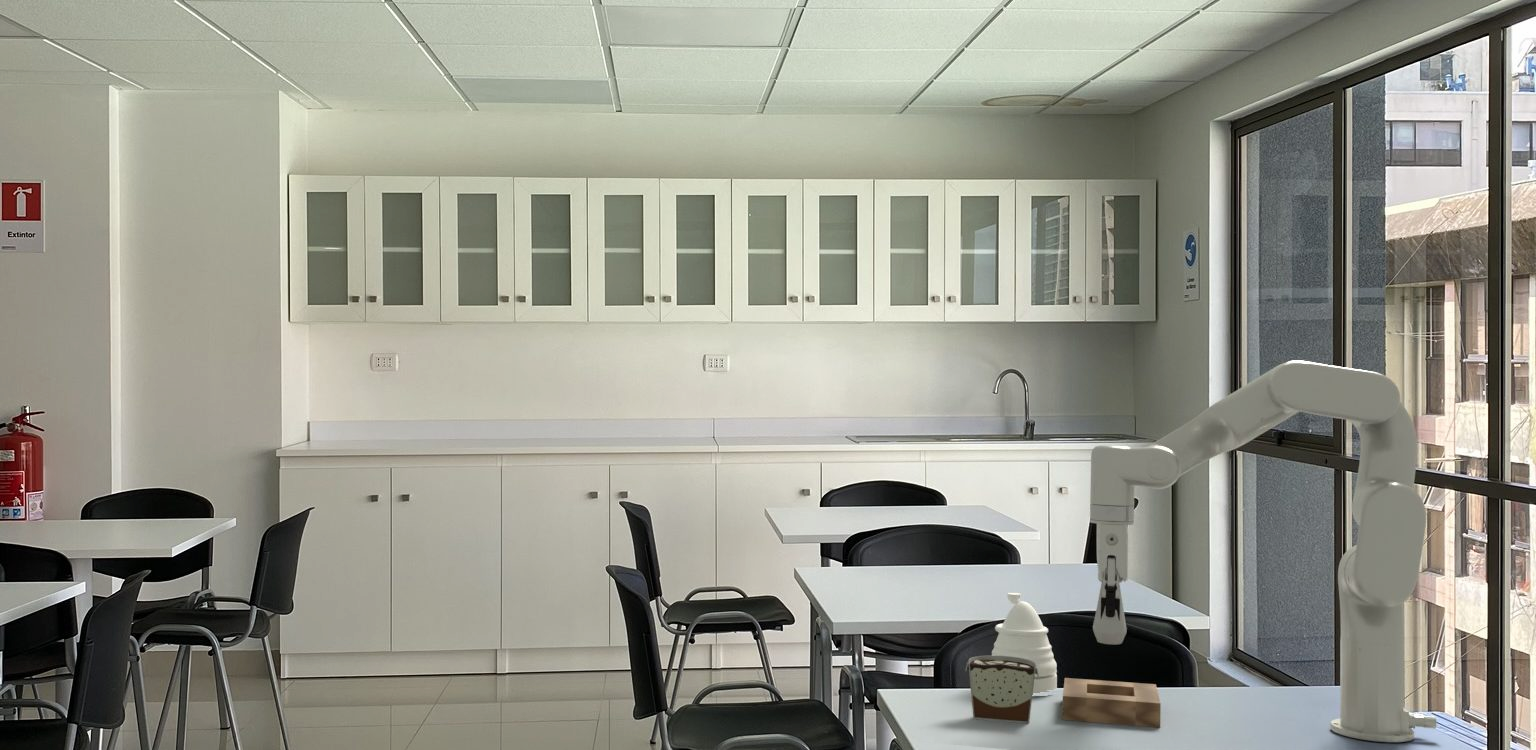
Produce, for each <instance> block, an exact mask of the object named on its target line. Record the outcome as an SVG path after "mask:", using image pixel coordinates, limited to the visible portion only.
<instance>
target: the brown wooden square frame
mask: <svg viewBox="0 0 1536 750" xmlns="http://www.w3.org/2000/svg"><path fill="white" fill-rule="evenodd" d="M1063 681H1064V683H1063V692H1062V720H1065V721H1076V722H1077V721H1079V722H1087V723H1089V722H1090V723H1099V724H1100V723H1101V724H1112V725H1114V724H1116V725H1125V726H1138V727H1139V726H1141V727H1149V728H1151V727H1152V728H1161V710H1162V709H1161V707H1162V705H1161V700H1160V697H1159V693H1158V687H1157V684H1156V683H1155V684H1154V683H1142V682H1141V683H1140V682H1128V681H1127V682H1126V681H1114V680H1113V681H1112V680H1101V679H1084V678H1073V677H1072V678H1071V677H1070V678H1069V677H1064V680H1063Z"/></svg>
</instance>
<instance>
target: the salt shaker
mask: <svg viewBox="0 0 1536 750" xmlns="http://www.w3.org/2000/svg"><path fill="white" fill-rule="evenodd" d="M1105 570H1106V569H1105ZM1097 579H1098V581H1099V582H1100V590H1099V595H1098V600H1097V605H1096V610H1095V615H1094V620H1093V623H1092V624H1093V625H1092V631H1093V633H1094V636H1095V638H1096V641H1097V643H1100V644H1103V645H1121V644H1123V642H1124V639H1125V637H1126V635H1127V630H1128V627H1127V622H1126V616H1125V615H1126V614H1125V610H1124V603H1123V597H1122V593H1121V591H1122V590H1121V585H1120V583H1122V582H1124V580H1123V579H1122V578H1120V576H1119V599H1120V620H1119V619H1118V614H1117V610H1115V616H1114V617H1107V616H1106V606H1105V608H1104V613H1103V615H1102V618H1101V597H1102V598H1103V582H1102V581H1103V579H1102V580H1101V579H1100V578H1099V574H1098V573H1097ZM1105 580H1108V576H1105ZM1115 580H1117V577H1115ZM1106 584H1107V583H1106ZM1115 598H1116V596H1115Z"/></svg>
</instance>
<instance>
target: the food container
mask: <svg viewBox="0 0 1536 750" xmlns="http://www.w3.org/2000/svg"><path fill="white" fill-rule="evenodd" d="M967 671H968V673H969V685H970V695H971V697H970V698H971V706H972V707H971V709H972V718H973V720H985V721H995V722H996V721H997V722H1008V723H1021V724H1030V719H1031V709H1032V703H1033V702H1032V701H1033V697H1032V695H1033V687H1034V678H1035V674H1037V675H1038V670H1037V667H1036V663H1035V662H1033V661H1031V660H1028V659H1024V658H1018V657H1011V656H992V655H978V656H977V655H976V656H973V657H972V656H971V657H970V658H969V659H968V661H967V662H966V666H965V672H967ZM1038 677H1039V675H1038Z"/></svg>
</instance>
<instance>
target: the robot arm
mask: <svg viewBox="0 0 1536 750" xmlns="http://www.w3.org/2000/svg"><path fill="white" fill-rule="evenodd" d="M1299 412H1302V413H1307V414H1310V415H1311V414H1312V415H1317V416H1321V417H1328V418H1334V419H1341V420H1346V421H1348V422H1350V423H1351V424H1352V425H1353V426H1354V427H1355V429H1356V430H1357V432H1358V435H1359V440H1360V453H1359V465H1358V470H1357V477H1356V482H1355V488H1354V494H1353V497H1352V504H1351V513H1352V517H1353V519H1354V521H1355V523H1356V524H1357V526H1358V532H1357V540H1356V545H1354V546H1352V547H1350V548H1348V549H1347V550H1346V551H1345V552H1344V554H1343V555H1342V557H1341V558H1340V561H1339V564H1338V569H1337V584H1338V585H1337V586H1338V594H1339V595H1338V596H1339V597H1338V598H1339V611H1340V612H1339V613H1340V615H1339V616H1340V637H1339V639H1340V641H1339V642H1340V645H1339V646H1340V648H1339V649H1340V651H1339V652H1340V653H1339V655H1340V663H1339V664H1340V667H1339V668H1340V669H1339V671H1340V672H1339V673H1340V677H1339V678H1340V682H1339V683H1340V684H1339V686H1340V687H1339V688H1340V689H1339V695H1340V699H1339V700H1340V702H1339V704H1340V706H1339V707H1340V711H1339V712H1340V713H1339V714H1340V715H1339V717H1340V718H1339V717H1338V718H1335V719H1332V720H1330V723H1329V727H1330V728H1329V729H1330V730H1332V732H1334V733H1336V734H1339V735H1341V736H1345V737H1347V738H1352V739H1357V740H1362V741H1370V742H1377V743H1403V742H1404V743H1407V742H1410V741H1412V740H1414V739H1415V731H1414V729H1415V728H1416V727H1418V728H1424V729H1434V730H1435V729H1436V728H1437V718H1436V716H1434V715H1433V716H1430V715H1424V714H1422V713H1414V712H1412V713H1411V712H1410V711H1409V710H1407V708H1406V707H1404V706H1405V702H1404V701H1405V700H1404V699H1405V690H1404V689H1405V688H1404V686H1405V679H1404V678H1405V676H1404V675H1405V674H1404V673H1405V671H1404V670H1405V669H1404V668H1405V667H1404V666H1405V663H1404V662H1405V658H1404V657H1405V655H1404V654H1405V651H1404V650H1405V647H1404V646H1405V643H1404V642H1405V622H1404V621H1405V620H1404V609H1403V603H1404V602H1405V601H1407V600H1408V599H1410V597H1411V596H1412V594H1413V593H1414V591H1415V589H1416V586H1417V582H1418V578H1419V572H1420V565H1421V561H1422V560H1421V559H1422V554H1423V553H1422V552H1423V546H1424V539H1425V533H1426V524H1427V512H1426V505H1425V504H1424V503H1425V502H1424V501H1423V498H1422V497H1421V496H1420V494H1419V493H1418V492H1417V491H1416V490H1415V488H1414V486H1415V480H1416V479H1415V478H1416V466H1417V459H1418V457H1417V456H1418V436H1417V431H1416V427H1415V424H1414V422H1413V419H1412V418H1411V417H1412V416H1411V415H1410V413H1409V412H1408V410H1407V409H1406V407H1405V405H1404V404H1403V403H1402V402H1401V394H1400V389H1399V388H1398V386H1397V384H1396V382H1395V381H1393V379H1391V378H1390V377H1388V376H1386V375H1385V374H1382V373H1381V372H1377V371H1369V370H1363V369H1356V368H1349V367H1342V366H1337V365H1328V364H1324V363H1318V362H1312V361H1305V360H1299V359H1298V360H1296V359H1295V360H1289V361H1286V362H1284V363H1281V364H1278V365H1277V366H1275V367H1273V368H1272V369H1270V370H1268V371H1267V372H1266V371H1265V373H1263V374H1261V375H1260V376H1259V377H1256V378H1255V379H1253V380H1251V381H1250V382H1249V383H1246V384H1245V385H1244V386H1242V387H1240V388H1238V389H1237V390H1235V391H1234V392H1232V393H1230V394H1228V395H1227V396H1225V397H1223V398H1222V399H1220V400H1219V401H1217V402H1215V403H1213V404H1212V405H1210V406H1209V407H1207V408H1206V409H1204V411H1202V412H1201V413H1199V415H1197V416H1195V417H1194V418H1193V419H1191V420H1190V421H1188V422H1186V423H1184V424H1183V425H1182V426H1180V427H1178V428H1176V429H1174V430H1173V431H1172V432H1170V433H1168V434H1166V435H1165V436H1163V437H1162V438H1160V439H1158V440H1156V441H1155V442H1153V443H1152V444H1149V445H1148V446H1145V447H1130V446H1127V445H1110V444H1109V445H1106V444H1105V445H1102V444H1101V445H1097V446H1095V447H1094V448H1093V449H1092V451H1091V452H1090V453H1091V454H1090V490H1089V491H1090V495H1089V497H1090V500H1089V501H1090V502H1089V504H1090V505H1089V523H1092V524H1096V561H1097V562H1096V563H1097V565H1096V566H1097V572H1098V573H1097V575H1098V574H1099V578H1100V579H1101V580H1102V579H1103V581H1102V582H1103V598H1102V597H1101V618H1102V615H1103V613H1104V608H1105V606H1106V616H1107V617H1114V616H1115V610H1117V614H1118V619H1119V620H1120V599H1119V584H1120V583H1119V576H1120V578H1122V579H1123V582H1125V583H1126V582H1127V581H1128V578H1129V574H1128V573H1129V571H1128V570H1129V569H1128V568H1129V564H1128V563H1129V532H1128V530H1129V529H1128V526H1131V525H1134V524H1135V522H1134V521H1135V487H1136V486H1137V487H1144V488H1148V489H1154V490H1163V489H1167V488H1170V487H1172V486H1173V485H1174V484H1175V483H1177V481H1178V480H1179V478H1180V477H1181V476H1183V475H1184V474H1185V475H1186V473H1188V472H1189V471H1191V470H1193V469H1194V468H1196V467H1198V466H1200V465H1202V464H1203V463H1205V462H1207V461H1209V460H1210V459H1213V458H1215V457H1217V456H1220V455H1221V454H1224V453H1227V452H1231V451H1233V450H1237V448H1240V447H1242V446H1243V445H1244V446H1245V445H1246V444H1248V443H1249V442H1251V441H1252V440H1254V439H1256V438H1258V437H1259V436H1261V435H1262V434H1264V433H1266V432H1268V431H1269V430H1271V429H1272V428H1274V427H1276V426H1277V425H1279V424H1281V423H1283V422H1284V421H1286V420H1287V419H1290V418H1291V417H1293V416H1294V415H1296V414H1298V413H1299ZM1105 569H1106V570H1105ZM1105 576H1108V580H1105ZM1115 577H1117V580H1115ZM1102 582H1101V583H1102ZM1106 583H1107V584H1106ZM1115 596H1116V598H1115Z"/></svg>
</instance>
